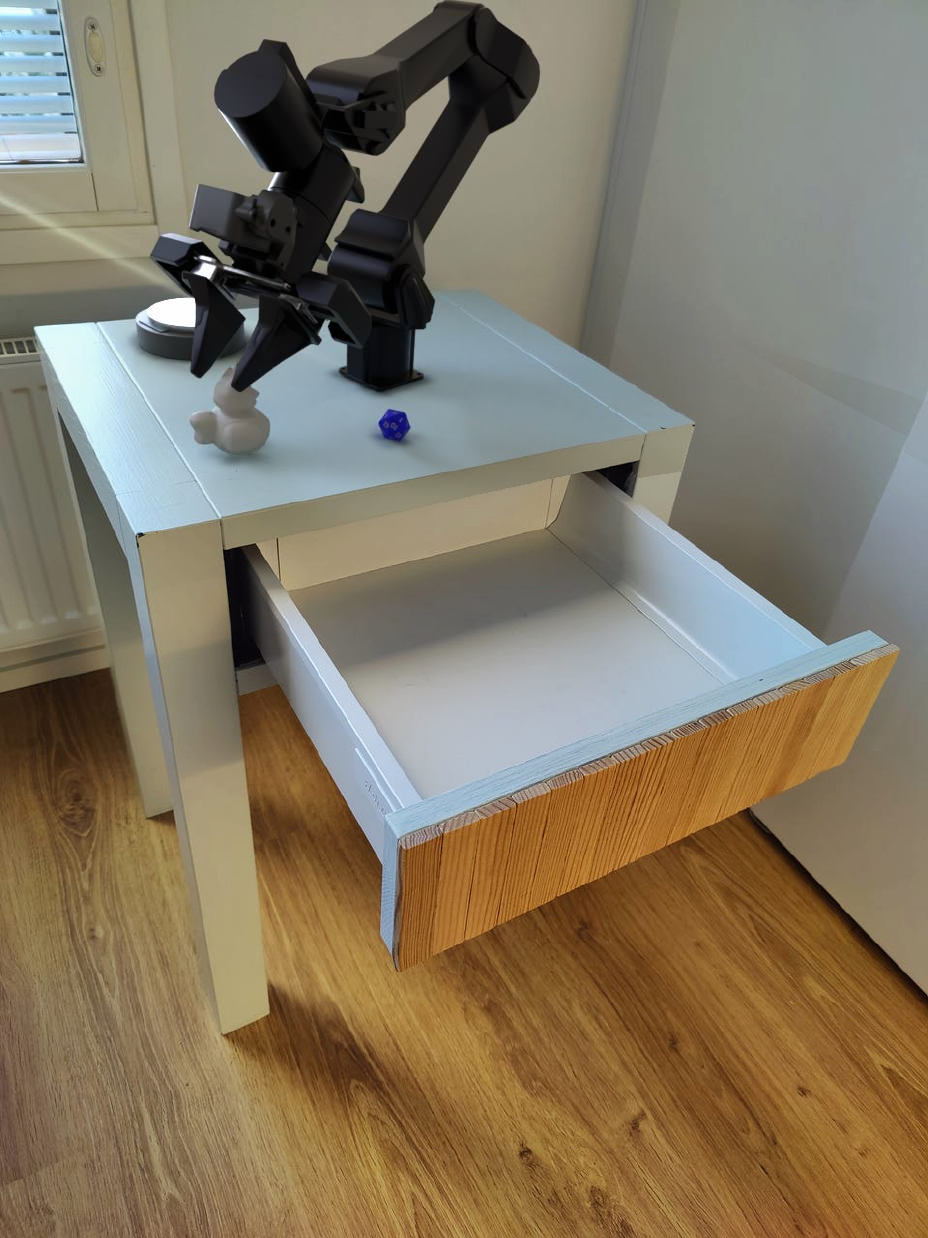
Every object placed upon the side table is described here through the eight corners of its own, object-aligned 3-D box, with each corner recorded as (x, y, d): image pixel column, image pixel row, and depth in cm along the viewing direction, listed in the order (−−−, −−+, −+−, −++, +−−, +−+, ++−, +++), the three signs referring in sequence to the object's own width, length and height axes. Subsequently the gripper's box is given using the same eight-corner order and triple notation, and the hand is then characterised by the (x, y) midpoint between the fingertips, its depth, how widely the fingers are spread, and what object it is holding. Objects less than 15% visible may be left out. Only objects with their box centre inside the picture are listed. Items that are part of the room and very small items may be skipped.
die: (383, 430, 80) (404, 406, 79) (400, 449, 79) (421, 425, 78) (367, 424, 78) (388, 399, 77) (384, 444, 77) (405, 419, 76)
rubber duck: (280, 460, 73) (276, 368, 69) (202, 471, 71) (192, 377, 66) (260, 433, 77) (255, 344, 72) (185, 443, 74) (174, 352, 69)
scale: (206, 317, 100) (204, 290, 98) (265, 346, 94) (264, 317, 92) (118, 335, 93) (113, 306, 91) (176, 367, 87) (173, 337, 85)
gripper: (151, 119, 66) (59, 298, 65) (353, 161, 59) (255, 362, 58) (230, 214, 76) (151, 371, 75) (408, 260, 70) (326, 432, 68)
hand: (214, 382), depth 69 cm, fingers open, 4 cm apart
